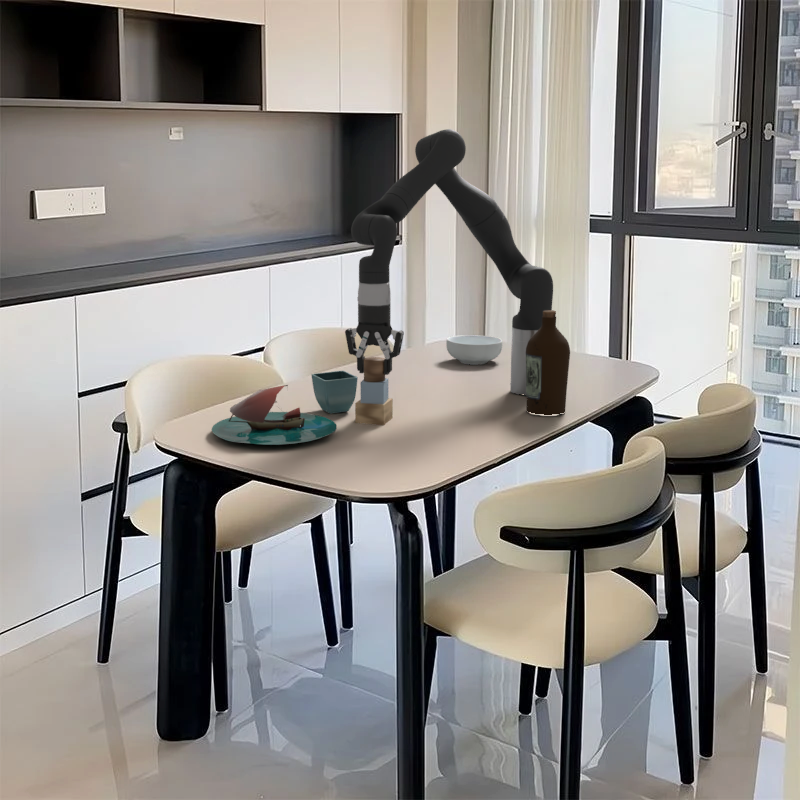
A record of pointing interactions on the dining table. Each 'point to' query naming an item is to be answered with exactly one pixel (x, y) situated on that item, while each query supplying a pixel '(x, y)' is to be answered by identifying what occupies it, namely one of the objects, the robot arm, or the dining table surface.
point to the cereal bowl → (474, 348)
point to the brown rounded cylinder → (374, 369)
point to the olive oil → (547, 368)
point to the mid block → (374, 392)
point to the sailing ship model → (270, 422)
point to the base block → (374, 412)
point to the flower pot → (335, 390)
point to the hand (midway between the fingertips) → (374, 373)
